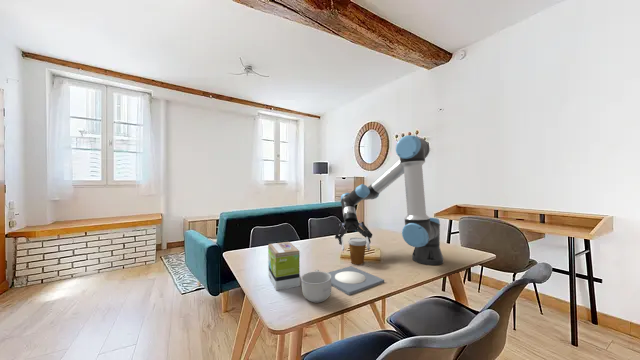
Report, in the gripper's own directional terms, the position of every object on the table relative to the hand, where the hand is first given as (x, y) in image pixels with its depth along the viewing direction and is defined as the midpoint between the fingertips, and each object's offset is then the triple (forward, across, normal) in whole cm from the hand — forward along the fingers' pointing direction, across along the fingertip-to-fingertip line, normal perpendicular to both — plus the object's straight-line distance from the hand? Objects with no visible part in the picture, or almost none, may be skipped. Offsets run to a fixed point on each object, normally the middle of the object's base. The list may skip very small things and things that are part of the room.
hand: (356, 249), depth 126 cm
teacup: (+30, +23, +20) cm, 43 cm away
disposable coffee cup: (+5, 0, -5) cm, 7 cm away
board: (+20, +8, +10) cm, 24 cm away
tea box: (+20, +36, +10) cm, 42 cm away
